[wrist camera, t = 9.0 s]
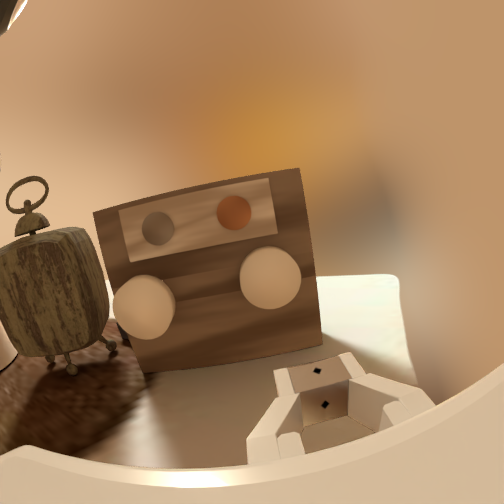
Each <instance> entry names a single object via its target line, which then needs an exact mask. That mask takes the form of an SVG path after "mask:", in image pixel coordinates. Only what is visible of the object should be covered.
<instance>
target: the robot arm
mask: <svg viewBox="0 0 504 504" xmlns="http://www.w3.org/2000/svg"><path fill="white" fill-rule="evenodd" d="M26 2H27V0H0V36H1V35H2V34H3V33H5V32H6V31H7V30H8V29H9V27H10V25H11V24H12V23H13V21H14V20H15V19H16V18H17V16H18V15H19V14H20V12H21V11H22V9H23V8H24V6H25V4H26ZM0 170H1V154H0ZM17 353H18V352H17V350H16V349H15V348H14V347H13V345H12V343H11V342H10V340H9V338H8V336H7V334H6V332H5V330H4V327H3V325H2V323H1V321H0V370H2V369H3V368H4V367H6V366H7V365H8V364H9V363H10V362H11V361H12V360H13V359H14V358H15V357H16V355H17ZM273 371H274V378H275V383H276V389H277V395H278V397H277V398H275V399H274V401H273V402H272V404H271V405H270V406H269V408H268V409H267V411H266V412H265V414H264V415H263V417H262V418H261V419H260V421H259V422H258V424H257V425H256V426H255V428H254V429H253V431H252V432H251V433H250V435H249V436H248V437H247V439H246V445H247V460H248V464H247V465H238V466H228V467H214V468H185V469H178V468H149V467H135V466H125V465H117V464H109V463H103V462H97V461H91V460H85V459H80V458H76V457H71V456H67V455H63V454H59V453H55V452H51V451H48V450H44V449H41V448H38V447H35V446H31V445H24V446H21V447H19V448H16V449H14V450H12V451H10V452H7V453H5V454H3V455H1V456H0V504H504V363H503V364H502V365H500V366H499V367H498V368H496V369H495V370H493V371H492V372H491V373H489V374H488V375H486V376H485V377H483V378H482V379H480V380H479V381H477V382H476V383H474V384H473V385H471V386H470V387H468V388H466V389H465V390H463V391H461V392H460V393H458V394H456V395H455V396H453V397H451V398H450V399H448V400H446V401H444V402H442V403H441V404H439V405H437V406H436V405H435V404H434V403H433V401H432V400H431V399H430V398H429V397H428V396H427V395H426V394H425V392H424V391H423V390H422V389H421V388H417V387H414V386H410V385H407V384H404V383H400V382H397V381H394V380H391V379H387V378H384V377H381V376H378V375H375V374H372V373H368V374H366V372H365V371H364V370H363V368H362V367H361V365H360V364H359V363H358V361H357V360H356V359H355V357H354V356H353V354H352V353H351V352H347V353H343V354H340V355H337V356H335V357H331V358H327V359H324V360H320V361H316V362H311V363H306V364H301V365H296V366H291V367H287V368H282V369H276V370H273ZM346 415H348V416H349V417H350V418H352V419H354V420H355V421H357V422H359V423H361V424H362V425H364V426H366V427H367V428H369V429H371V430H373V431H374V432H376V433H374V434H371V435H369V436H366V437H363V438H360V439H357V440H354V441H351V442H348V443H345V444H342V445H338V446H335V447H331V448H328V449H324V450H320V451H317V452H313V453H308V454H305V450H304V447H303V444H302V440H301V437H300V436H301V433H302V431H303V429H304V427H305V426H309V425H313V424H316V423H320V422H323V421H327V420H331V419H335V418H339V417H342V416H346Z"/></svg>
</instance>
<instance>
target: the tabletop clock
mask: <svg viewBox="0 0 504 504" xmlns="http://www.w3.org/2000/svg"><path fill="white" fill-rule="evenodd" d="M31 181H39V182H40V183H42V184H43V185H44V186H45V189H46V190H45V194H44V196H43V197H42V198H41V199H40V200H39V201H37V202H36V203H34V204H32V205H31V201H30V200H26V201H25V202H24V208H21V209H14V208H11V207H10V205H9V198H10V196H11V194H12V192H13V191H14V190H15V189H16V188H17V187H19V186H20V185H22V184H25V183H27V182H31ZM48 192H49V187H48V184H47V182H46V181H45V180H44V179H43V178H41V177H38V176H30V177H26V178H24V179H21V180H19V181H18V182H16V183H15V184H14V185H13V186H12V187H11V188H10V190H9V192H8V194H7V197H6V206H7V208H8V210H9V211H10V212H12V213H15V214H22V213H25V216H23V217H21V218H20V219H19V221H18V223H17V225H16V228H15V237H16V236H21V235H24V234H28V233H29V234H30V236H26V237H23V238H20V239H18V240H16V241H14V242H12V243H10V244H8V245H6V246H4V247H2V248H0V320H1V323H2V325H3V327H4V330H5V332H6V334H7V336H8V338H9V340H10V342H11V343H12V345H13V347H14V348H15V349H16V350H17V352H18V353H19V354H21V355H23V356H28V357H42V356H45V358H46V360H47V361H48V362H50V363H52V362H54V360H55V356H54V355H62V354H64V356H65V359H66V361H67V363H68V365H67V366H66V371H67V373H68V374H69V375H72V376H74V375H76V374H77V367H76V366H75V365H74V364H72V363H71V360H70V356H69V353H70V352H73V351H77V350H80V349H83V348H86V347H89V346H91V345H92V344H94V343H95V342H96V341H97V340H100V341H101V342H103V343H105V344H106V348H107V349H108V350H109V351H114V350H115V349H116V347H117V345H116V342H115V341H114V340H108V341H107V340H106V339H105V338H104V337H103V336H102V335H101V334H102V332H103V329H104V327H105V325H106V322H107V320H108V317H109V307H110V306H109V298H108V292H107V288H106V284H105V280H104V275H103V271H102V268H101V265H100V262H99V259H98V256H97V253H96V250H95V247H94V245H93V243H92V241H91V238H90V237H89V235H88V234H87V232H86V231H85V229H84V228H78V227H67V228H62V229H57V230H53V231H48V232H43V233H39V234H36V232H35V231H37V230H40V229H43V228H46V227H48V226H50V224H49V222H48V220H47V219H46V218H45V216H43V215H42V214H41V213H32V210H34V209H36V208H38V207H39V206H40V205H41V204H42V203H43V202H44V201H45V199H46V197H47V196H48Z"/></svg>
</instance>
